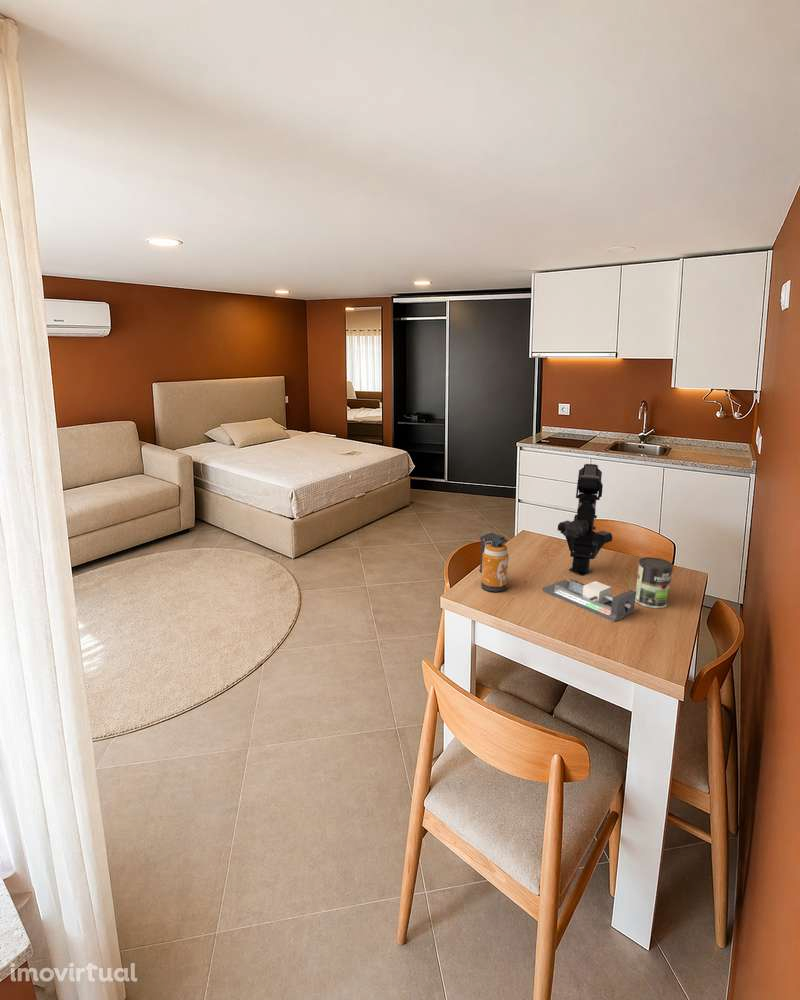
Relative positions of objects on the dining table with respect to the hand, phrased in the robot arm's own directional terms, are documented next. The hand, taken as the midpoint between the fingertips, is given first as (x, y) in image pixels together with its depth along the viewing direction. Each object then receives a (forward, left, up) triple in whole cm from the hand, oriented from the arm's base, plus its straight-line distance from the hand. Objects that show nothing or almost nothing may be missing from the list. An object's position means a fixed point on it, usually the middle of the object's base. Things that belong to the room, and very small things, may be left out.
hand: (582, 554), depth 193 cm
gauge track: (+8, +9, -12) cm, 17 cm away
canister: (+26, -18, -12) cm, 34 cm away
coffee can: (-9, +22, -12) cm, 27 cm away
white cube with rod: (+9, +17, -10) cm, 22 cm away
